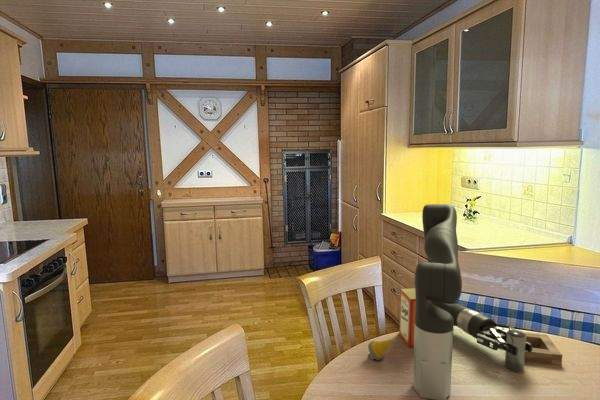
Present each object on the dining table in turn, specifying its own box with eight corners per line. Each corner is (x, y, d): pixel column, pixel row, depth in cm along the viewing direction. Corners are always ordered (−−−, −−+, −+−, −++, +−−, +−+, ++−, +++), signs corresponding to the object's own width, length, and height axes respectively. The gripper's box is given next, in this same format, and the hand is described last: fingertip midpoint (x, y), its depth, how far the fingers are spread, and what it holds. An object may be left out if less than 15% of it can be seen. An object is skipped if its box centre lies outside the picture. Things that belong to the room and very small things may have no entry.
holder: (561, 365, 111) (562, 355, 110) (512, 359, 114) (513, 349, 113) (546, 344, 123) (547, 335, 122) (502, 339, 126) (503, 330, 125)
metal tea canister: (526, 373, 107) (528, 338, 105) (506, 371, 108) (509, 336, 107) (521, 364, 111) (523, 330, 110) (502, 362, 112) (504, 328, 111)
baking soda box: (399, 333, 131) (400, 287, 129) (418, 332, 131) (419, 286, 129) (409, 347, 121) (410, 298, 119) (429, 346, 122) (431, 297, 120)
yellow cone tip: (374, 351, 120) (397, 336, 115) (375, 367, 115) (400, 352, 111) (361, 343, 118) (384, 328, 114) (362, 359, 114) (386, 343, 109)
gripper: (458, 316, 119) (505, 342, 103) (494, 309, 124) (544, 332, 108) (457, 340, 120) (503, 368, 104) (492, 332, 125) (542, 358, 109)
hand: (524, 350), depth 106 cm, fingers closed on metal tea canister, 4 cm apart
